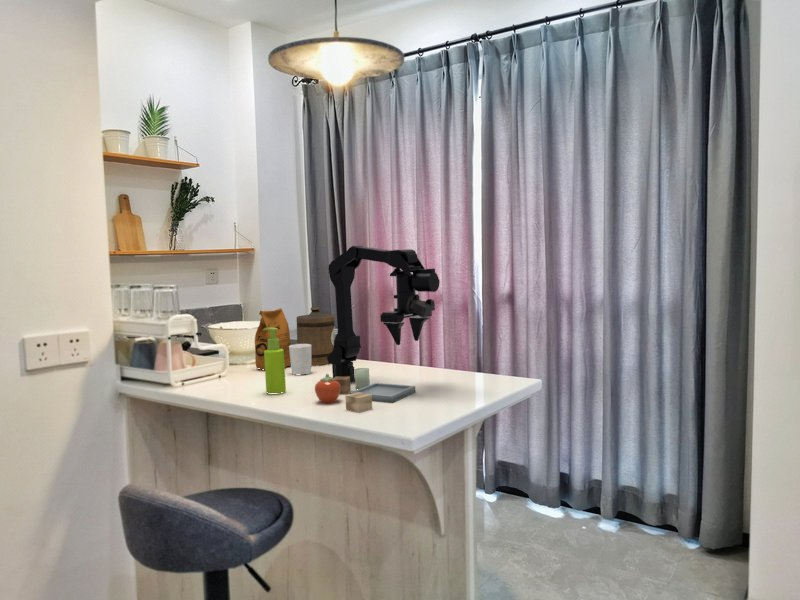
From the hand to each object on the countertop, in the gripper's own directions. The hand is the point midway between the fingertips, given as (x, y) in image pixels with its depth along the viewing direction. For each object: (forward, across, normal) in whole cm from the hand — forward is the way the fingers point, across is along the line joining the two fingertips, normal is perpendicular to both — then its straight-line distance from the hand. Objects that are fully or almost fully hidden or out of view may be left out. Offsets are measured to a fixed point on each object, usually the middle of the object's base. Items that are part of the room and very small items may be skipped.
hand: (407, 342), depth 191 cm
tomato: (+14, -24, +11) cm, 30 cm away
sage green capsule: (+14, -6, +13) cm, 20 cm away
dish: (+14, -10, +2) cm, 18 cm away
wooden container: (+15, +21, +60) cm, 65 cm away
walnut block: (+14, -13, +15) cm, 25 cm away
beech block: (+14, -26, -2) cm, 30 cm away
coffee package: (+15, +5, +66) cm, 68 cm away
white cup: (+15, +2, +49) cm, 51 cm away
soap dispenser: (+15, -23, +34) cm, 44 cm away
